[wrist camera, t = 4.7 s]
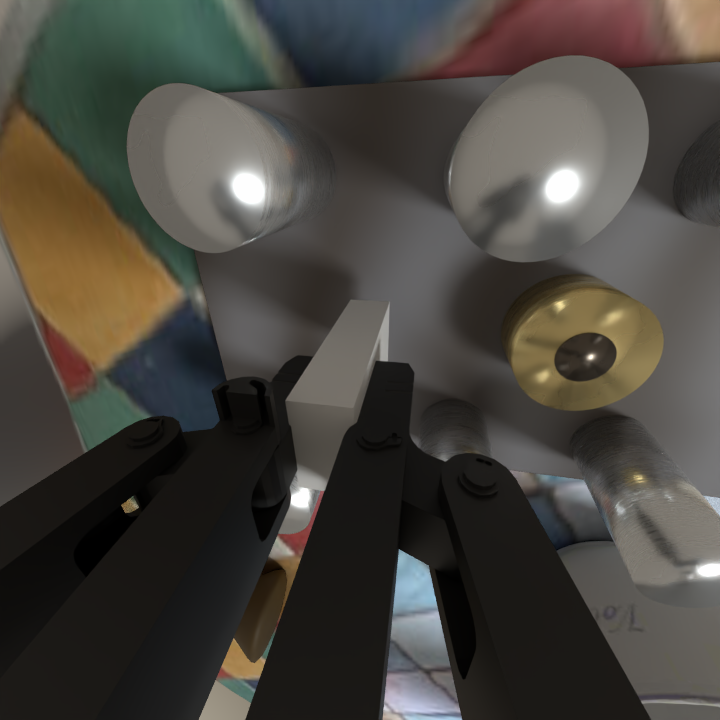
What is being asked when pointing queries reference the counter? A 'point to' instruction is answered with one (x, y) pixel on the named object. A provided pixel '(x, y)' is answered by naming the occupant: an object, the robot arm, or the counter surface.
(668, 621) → the teacup
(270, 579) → the kendama
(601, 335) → the brass knob
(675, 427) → the board
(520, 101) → the steel spacers
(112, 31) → the counter surface
